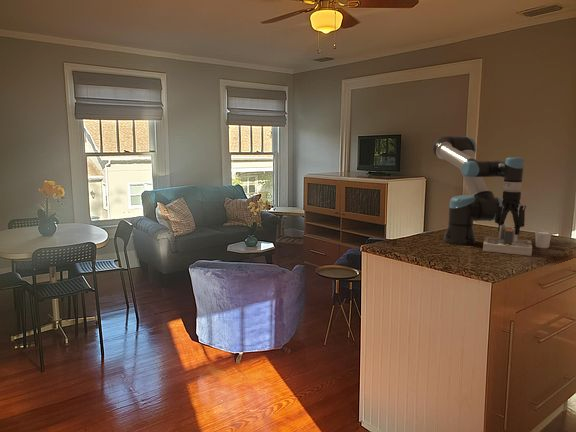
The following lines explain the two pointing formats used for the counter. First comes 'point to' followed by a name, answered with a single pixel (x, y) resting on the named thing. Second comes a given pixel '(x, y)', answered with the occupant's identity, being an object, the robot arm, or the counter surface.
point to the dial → (508, 238)
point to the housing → (508, 247)
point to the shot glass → (542, 239)
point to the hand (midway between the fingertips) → (507, 239)
